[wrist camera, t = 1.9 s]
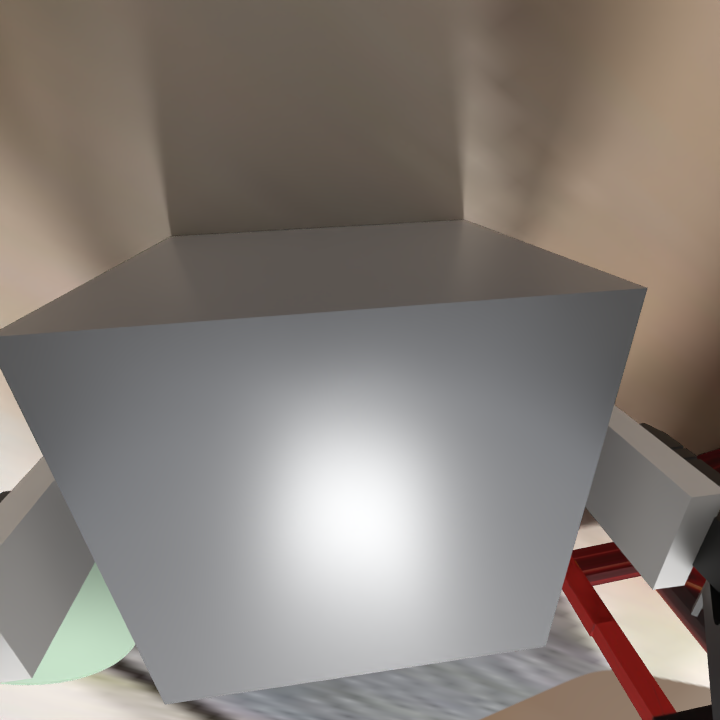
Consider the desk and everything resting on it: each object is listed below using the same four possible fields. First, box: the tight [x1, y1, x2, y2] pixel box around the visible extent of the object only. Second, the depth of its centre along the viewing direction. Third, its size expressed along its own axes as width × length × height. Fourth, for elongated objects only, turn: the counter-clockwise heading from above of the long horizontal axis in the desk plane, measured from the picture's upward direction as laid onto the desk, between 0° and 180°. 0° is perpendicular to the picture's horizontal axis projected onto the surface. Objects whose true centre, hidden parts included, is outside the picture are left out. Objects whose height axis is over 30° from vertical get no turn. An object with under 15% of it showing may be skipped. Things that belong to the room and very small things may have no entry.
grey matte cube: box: [0, 220, 647, 704], centre depth 12 cm, size 10×10×9 cm
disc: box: [0, 563, 135, 685], centre depth 21 cm, size 12×12×1 cm
